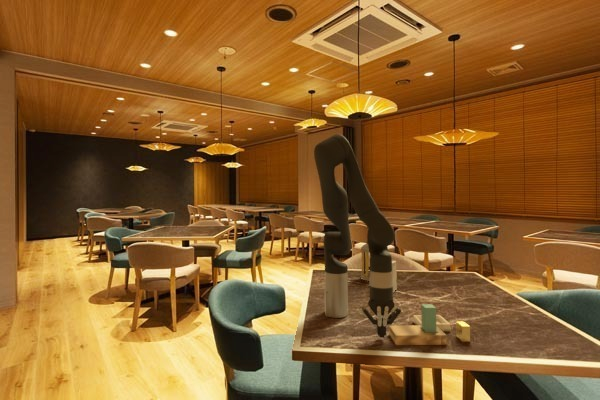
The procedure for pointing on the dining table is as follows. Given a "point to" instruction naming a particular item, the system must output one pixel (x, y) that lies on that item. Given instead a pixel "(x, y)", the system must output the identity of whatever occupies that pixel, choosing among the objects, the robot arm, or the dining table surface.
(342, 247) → the robot arm
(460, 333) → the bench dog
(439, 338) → the flat wooden block
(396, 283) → the skincare box
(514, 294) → the dining table surface
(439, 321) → the dish
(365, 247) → the lantern
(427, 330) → the peg
